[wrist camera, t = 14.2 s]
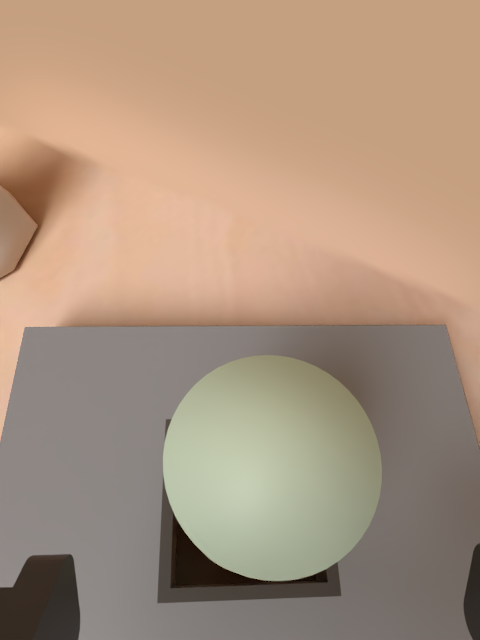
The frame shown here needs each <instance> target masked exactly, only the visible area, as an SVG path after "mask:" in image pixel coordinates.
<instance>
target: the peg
mask: <svg viewBox="0 0 480 640" xmlns="http://www.w3.org/2000/svg"><path fill="white" fill-rule="evenodd" d="M163 476H164V482H165V489H166V492H167V496H168V499H169V503H170V505H171V507H172V510H173V512H174V514H175V517H176V519H177V520H178V522H179V524H180V525H181V527H182V529H183V530H184V532H185V533H186V534H187V536H188V537H189V538H190V539H191V541H192V542H193V543H194V544H195V545H196V546H197V547H198V548H199V549H200V550H201V551H202V552H203V553H204V554H205V555H206V556H207V557H208V558H209V559H210V560H211V561H213V562H214V563H216V564H217V565H219V566H221V567H223V568H225V569H227V570H229V571H232V572H235V573H237V574H240V575H243V576H246V577H249V578H254V579H259V580H264V581H288V580H296V579H300V578H304V577H308V576H311V575H314V574H316V573H318V572H321V571H323V570H325V569H327V568H329V567H330V566H332V565H333V564H335V563H336V562H338V561H340V560H341V559H342V558H343V557H344V556H345V555H346V554H348V553H349V552H350V551H351V550H352V549H353V548H354V546H355V545H356V544H357V543H358V542H359V540H360V539H361V538H362V536H363V535H364V533H365V532H366V530H367V528H368V527H369V525H370V523H371V520H372V518H373V516H374V514H375V511H376V508H377V504H378V501H379V497H380V491H381V484H382V463H381V454H380V449H379V445H378V441H377V437H376V435H375V432H374V429H373V427H372V424H371V422H370V420H369V418H368V416H367V414H366V413H365V411H364V410H363V408H362V407H361V405H360V404H359V402H358V401H357V399H356V398H355V397H354V396H353V395H352V394H351V392H350V391H349V390H348V389H347V388H346V387H345V386H344V385H342V384H341V383H340V382H339V381H338V380H337V379H335V378H334V377H333V376H331V375H330V374H329V373H327V372H325V371H323V370H322V369H320V368H318V367H316V366H314V365H312V364H309V363H307V362H305V361H301V360H298V359H295V358H290V357H285V356H277V355H259V356H251V357H245V358H241V359H238V360H235V361H232V362H229V363H227V364H224V365H222V366H220V367H218V368H216V369H215V370H213V371H212V372H210V373H209V374H207V375H206V376H204V377H203V378H202V379H201V380H200V381H198V382H197V383H196V384H195V385H194V386H193V387H192V388H191V390H190V391H189V392H188V393H187V394H186V396H185V397H184V398H183V400H182V401H181V402H180V404H179V406H178V408H177V409H176V411H175V413H174V415H173V417H172V420H171V422H170V425H169V428H168V431H167V435H166V439H165V443H164V452H163Z"/></svg>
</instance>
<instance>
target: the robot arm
mask: <svg viewBox="0 0 480 640" xmlns="http://www.w3.org/2000/svg"><path fill="white" fill-rule="evenodd" d="M463 607H464V616H465V620H466V624H467V627H468V630H469V633H470V635H471V637H472V639H473V640H480V543H479V544H477V545H476V546H475V548H474V551H473V556H472V561H471V566H470V571H469V576H468V581H467V586H466V591H465V596H464V602H463ZM79 632H80V607H79V599H78V590H77V582H76V573H75V565H74V559H73V556H72V555H71V554H59V555H32V556H30V557H29V558H28V559H27V560H26V562H25V564H24V566H23V568H22V570H21V572H20V574H19V576H18V578H17V580H16V582H15V584H14V586H13V587H0V640H78V639H79Z"/></svg>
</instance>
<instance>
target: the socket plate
mask: <svg viewBox="0 0 480 640" xmlns="http://www.w3.org/2000/svg"><path fill="white" fill-rule="evenodd" d="M259 355H277V356H285V357H290V358H295V359H298V360H301V361H305V362H307V363H309V364H312V365H314V366H316V367H318V368H320V369H322V370H323V371H325V372H327V373H329V374H330V375H331V376H333V377H334V378H335V379H337V380H338V381H339V382H340V383H341V384H342V385H344V386H345V387H346V388H347V389H348V390H349V391H350V392H351V394H352V395H353V396H354V397H355V398H356V399H357V401H358V402H359V404H360V405H361V407H362V408H363V410H364V411H365V413H366V414H367V416H368V418H369V420H370V422H371V424H372V427H373V429H374V432H375V435H376V437H377V441H378V445H379V449H380V454H381V463H382V484H381V491H380V497H379V501H378V504H377V508H376V511H375V514H374V516H373V518H372V520H371V523H370V525H369V527H368V528H367V530H366V532H365V533H364V535H363V536H362V538H361V539H360V540H359V542H358V543H357V544H356V545H355V546H354V548H353V549H352V550H351V551H350V552H349V553H348V554H346V555H345V556H344V557H343V558H342V559H341V560H340V561H338V562H336V563H335V564H333V565H332V566H330V567H329V568H327V569H325V570H323V571H321V572H318V573H316V581H294V582H266V583H239V584H212V585H185V586H175V570H176V538H177V519H176V517H175V514H174V512H173V510H172V507H171V505H170V503H169V499H168V496H167V492H166V489H165V482H164V476H163V452H164V443H165V439H166V435H167V431H168V428H169V425H170V422H171V420H172V417H173V415H174V413H175V411H176V409H177V408H178V406H179V404H180V402H181V401H182V400H183V398H184V397H185V396H186V394H187V393H188V392H189V391H190V390H191V388H192V387H193V386H194V385H195V384H196V383H197V382H198V381H200V380H201V379H202V378H203V377H204V376H206V375H207V374H209V373H210V372H212V371H213V370H215V369H216V368H218V367H220V366H222V365H224V364H227V363H229V362H232V361H235V360H238V359H241V358H245V357H251V356H259ZM479 543H480V449H479V445H478V442H477V438H476V434H475V431H474V427H473V423H472V420H471V416H470V412H469V409H468V405H467V401H466V398H465V394H464V390H463V387H462V383H461V379H460V376H459V372H458V368H457V365H456V361H455V357H454V354H453V350H452V346H451V343H450V339H449V335H448V332H447V328H446V325H332V326H137V327H25V329H24V334H23V338H22V343H21V348H20V352H19V357H18V362H17V366H16V371H15V376H14V380H13V385H12V390H11V394H10V399H9V404H8V408H7V413H6V418H5V422H4V427H3V432H2V436H1V441H0V587H13V586H14V584H15V582H16V580H17V578H18V576H19V574H20V572H21V570H22V568H23V566H24V564H25V562H26V560H27V559H28V558H29V557H30V556H32V555H59V554H71V555H72V556H73V559H74V565H75V573H76V582H77V590H78V599H79V607H80V632H79V639H78V640H473V639H472V637H471V635H470V633H469V630H468V627H467V624H466V620H465V616H464V607H463V602H464V596H465V591H466V586H467V581H468V576H469V571H470V566H471V561H472V556H473V551H474V548H475V546H476V545H477V544H479Z"/></svg>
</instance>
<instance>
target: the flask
mask: <svg viewBox="0 0 480 640" xmlns="http://www.w3.org/2000/svg"><path fill="white" fill-rule="evenodd" d="M37 227H38V225H37V224H36V223H35V222H34V220H33V219H32V218H31V217H30V216H29V215H28V213H27V212H26V211H25V210H24V209H23V207H22V206H21V205H20V204H19V203H18V201H17V200H16V199H15V198H14V197H13V195H12V194H11V193H10V192H8V191H7V190H6V189H5V188H3V187H2V186H1V185H0V278H1V277H3V276H5V275H6V274H8V273H10V272H12V271H13V270H14V269H15V267H16V265H17V263H18V262H19V260H20V258H21V256H22V254H23V252H24V251H25V249H26V247H27V245H28V243H29V241H30V240H31V238H32V236H33V234H34V232H35V230H36V229H37Z"/></svg>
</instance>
